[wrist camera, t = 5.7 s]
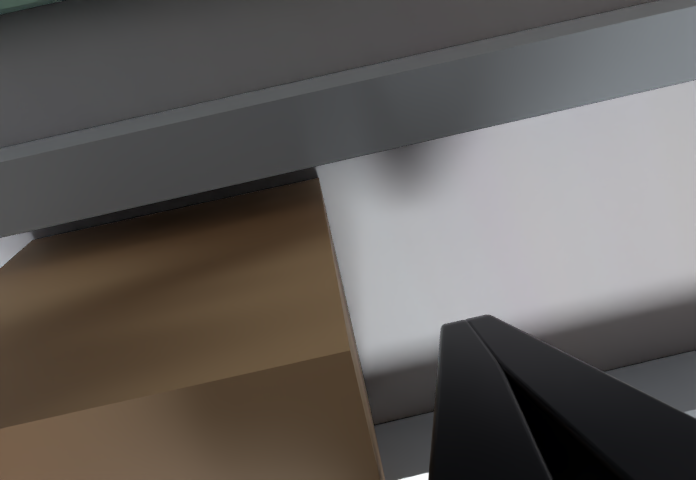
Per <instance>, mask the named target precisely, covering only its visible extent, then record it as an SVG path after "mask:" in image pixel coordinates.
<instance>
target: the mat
mask: <svg viewBox="0 0 696 480" xmlns="http://www.w3.org/2000/svg"><path fill="white" fill-rule="evenodd" d="M60 1H64V0H0V15H1V14H5V13H10V12H14V11H19V10H23V9H28V8H32V7H37V6H41V5H46V4H50V3H55V2H60Z"/></svg>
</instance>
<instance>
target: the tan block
mask: <svg viewBox="0 0 696 480" xmlns="http://www.w3.org/2000/svg"><path fill="white" fill-rule="evenodd" d="M0 480H385V477H384V472H383V467H382V462H381V458H380V453H379V448H378V443H377V438H376V433H375V429H374V424H373V419H372V414H371V409H370V404H369V400H368V395H367V391H366V386H365V382H364V377H363V373H362V368H361V364H360V360H359V355H358V351H357V346H356V342H355V337H354V333H353V329H352V324H351V320H350V315H349V311H348V306H347V302H346V297H345V293H344V289H343V284H342V280H341V275H340V271H339V266H338V262H337V257H336V253H335V249H334V244H333V240H332V235H331V231H330V226H329V222H328V218H327V213H326V209H325V204H324V200H323V195H322V191H321V186H320V182H319V178H316V179H311V180H306V181H302V182H297V183H293V184H288V185H283V186H279V187H274V188H270V189H265V190H260V191H256V192H251V193H247V194H242V195H237V196H233V197H228V198H224V199H219V200H214V201H210V202H205V203H201V204H196V205H191V206H187V207H182V208H178V209H173V210H168V211H164V212H159V213H155V214H150V215H145V216H141V217H136V218H132V219H127V220H122V221H118V222H113V223H109V224H104V225H99V226H95V227H90V228H86V229H81V230H76V231H72V232H67V233H63V234H58V235H53V236H49V237H44V238H40V239H35V240H32V241H31V242H30V243H29V244H27V245H26V246H25V247H24V248H23V249H22V250H21V251H20V252H18V253H17V254H16V255H15V256H14V257H13V258H12V259H11V260H9V261H8V262H7V263H6V264H5V265H4V266H3V267H1V268H0Z"/></svg>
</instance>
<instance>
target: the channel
mask: <svg viewBox="0 0 696 480" xmlns="http://www.w3.org/2000/svg"><path fill="white" fill-rule="evenodd" d="M694 80H696V0H658V1H654V2H649V3H645V4H640V5H636V6H631V7H627V8H622V9H618V10H613V11H609V12H605V13H600V14H596V15H591V16H587V17H582V18H578V19H573V20H569V21H564V22H560V23H556V24H551V25H547V26H542V27H538V28H533V29H529V30H524V31H520V32H515V33H511V34H507V35H502V36H498V37H493V38H489V39H484V40H480V41H475V42H471V43H467V44H462V45H458V46H453V47H449V48H444V49H440V50H435V51H431V52H426V53H422V54H418V55H413V56H409V57H404V58H400V59H395V60H391V61H386V62H382V63H377V64H373V65H369V66H364V67H360V68H355V69H351V70H346V71H342V72H337V73H333V74H329V75H324V76H320V77H315V78H311V79H306V80H302V81H297V82H293V83H288V84H284V85H280V86H275V87H271V88H266V89H262V90H257V91H253V92H248V93H244V94H239V95H235V96H231V97H226V98H222V99H217V100H213V101H208V102H204V103H199V104H195V105H190V106H186V107H182V108H177V109H173V110H168V111H164V112H159V113H155V114H150V115H146V116H142V117H137V118H133V119H128V120H124V121H119V122H115V123H110V124H106V125H101V126H97V127H93V128H88V129H84V130H79V131H75V132H70V133H66V134H61V135H57V136H52V137H48V138H44V139H39V140H35V141H30V142H26V143H21V144H17V145H12V146H8V147H3V148H0V238H2V237H7V236H11V235H15V234H20V233H24V232H29V231H33V230H37V229H42V228H46V227H51V226H55V225H59V224H64V223H68V222H73V221H77V220H81V219H86V218H90V217H95V216H99V215H103V214H108V213H112V212H117V211H121V210H125V209H130V208H134V207H139V206H143V205H147V204H152V203H156V202H161V201H165V200H170V199H174V198H178V197H183V196H187V195H192V194H196V193H200V192H205V191H209V190H214V189H218V188H222V187H227V186H231V185H236V184H240V183H244V182H249V181H253V180H258V179H262V178H266V177H271V176H275V175H280V174H284V173H288V172H293V171H297V170H302V169H306V168H310V167H315V166H319V165H324V164H328V163H332V162H337V161H341V160H346V159H350V158H354V157H359V156H363V155H368V154H372V153H376V152H381V151H385V150H390V149H394V148H399V147H403V146H407V145H412V144H416V143H421V142H425V141H429V140H434V139H438V138H443V137H447V136H451V135H456V134H460V133H465V132H469V131H473V130H478V129H482V128H487V127H491V126H495V125H500V124H504V123H509V122H513V121H517V120H522V119H526V118H531V117H535V116H539V115H544V114H548V113H553V112H557V111H561V110H566V109H570V108H575V107H579V106H583V105H588V104H592V103H597V102H601V101H605V100H610V99H614V98H619V97H623V96H628V95H632V94H636V93H641V92H645V91H650V90H654V89H658V88H663V87H667V86H672V85H676V84H680V83H685V82H689V81H694ZM605 373H607V374H609V375H611V376H613V377H615V378H617V379H619V380H621V381H623V382H625V383H627V384H629V385H631V386H633V387H635V388H637V389H639V390H641V391H643V392H645V393H647V394H649V395H651V396H653V397H655V398H657V399H659V400H661V401H663V402H665V403H667V404H669V405H671V406H673V407H675V408H677V409H679V410H681V411H683V412H685V413H687V414H689V415H690V416H692V417H694V418H696V350H695V351H691V352H686V353H682V354H678V355H674V356H669V357H665V358H661V359H657V360H652V361H648V362H644V363H640V364H635V365H631V366H627V367H623V368H618V369H614V370H610V371H605ZM433 415H434V412H431V413H426V414H422V415H418V416H414V417H409V418H405V419H401V420H397V421H392V422H388V423H384V424H380V425H375V426H374V429H375V433H376V438H377V443H378V448H379V453H380V458H381V462H382V467H383V472H384V477H385V480H428V475H429V463H430V451H431V439H432V427H433Z"/></svg>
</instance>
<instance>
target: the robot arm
mask: <svg viewBox="0 0 696 480" xmlns="http://www.w3.org/2000/svg"><path fill="white" fill-rule="evenodd" d="M428 480H696V418H694V417H692V416H690V415H689V414H687V413H685V412H683V411H681V410H679V409H677V408H675V407H673V406H671V405H669V404H667V403H665V402H663V401H661V400H659V399H657V398H655V397H653V396H651V395H649V394H647V393H645V392H643V391H641V390H639V389H637V388H635V387H633V386H631V385H629V384H627V383H625V382H623V381H621V380H619V379H617V378H615V377H613V376H611V375H609V374H607V373H605V372H603V371H601V370H599V369H597V368H595V367H593V366H591V365H589V364H587V363H585V362H583V361H581V360H579V359H577V358H575V357H573V356H571V355H569V354H567V353H565V352H563V351H561V350H559V349H557V348H555V347H553V346H551V345H549V344H547V343H545V342H543V341H541V340H539V339H537V338H535V337H533V336H531V335H529V334H527V333H525V332H523V331H521V330H519V329H517V328H515V327H513V326H512V325H510V324H508V323H506V322H504V321H502V320H500V319H498V318H496V317H494V316H491V315H483V316H478V317H474V318H469V319H466V320H461V321H456V322H452V323H447V324H444V325H442V327H441V332H440V344H439V356H438V368H437V380H436V392H435V404H434V415H433V427H432V439H431V451H430V463H429V475H428Z"/></svg>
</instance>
